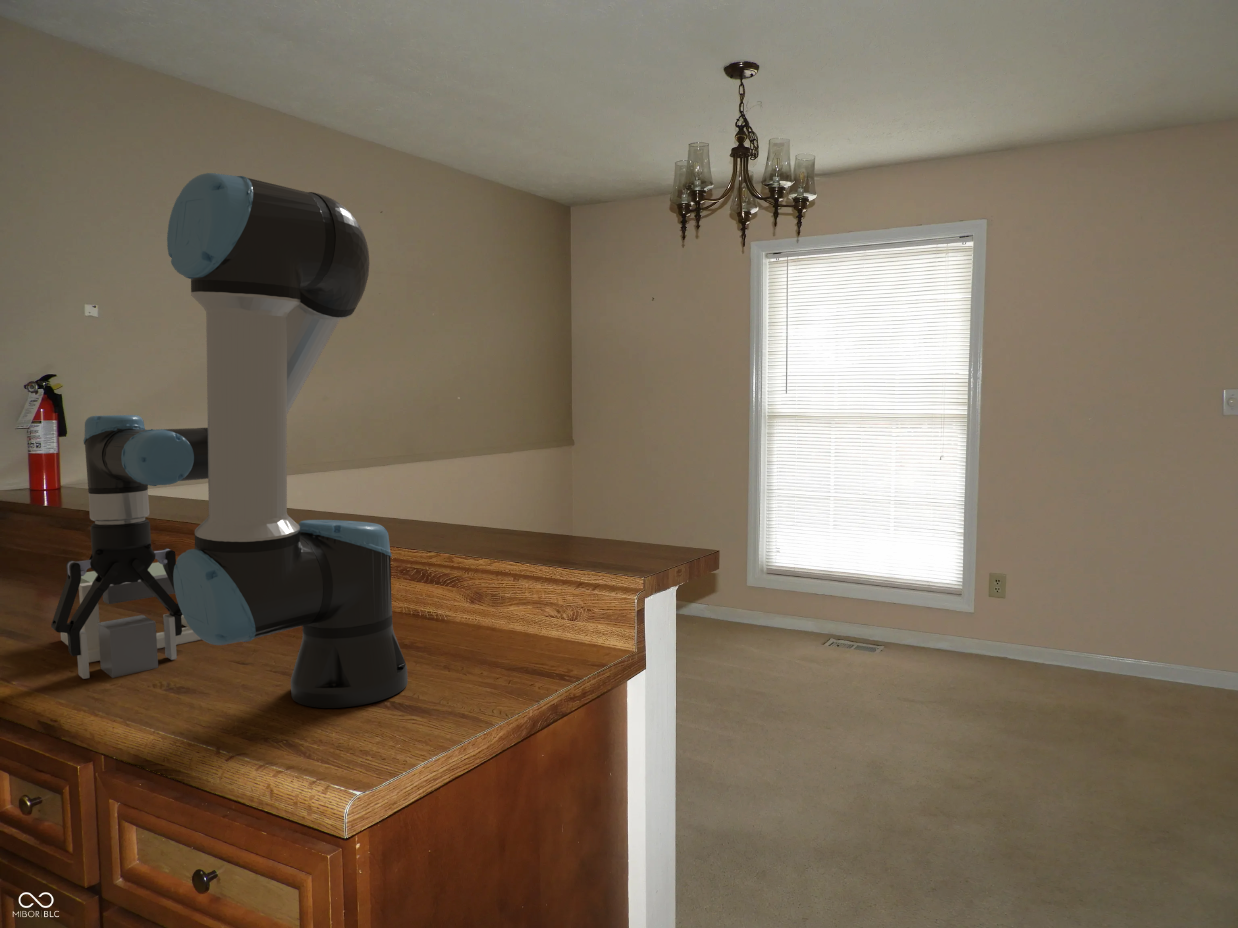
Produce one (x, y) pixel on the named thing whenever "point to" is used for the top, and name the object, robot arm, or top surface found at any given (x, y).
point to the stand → (93, 633)
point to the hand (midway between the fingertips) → (129, 666)
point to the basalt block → (128, 645)
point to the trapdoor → (132, 586)
